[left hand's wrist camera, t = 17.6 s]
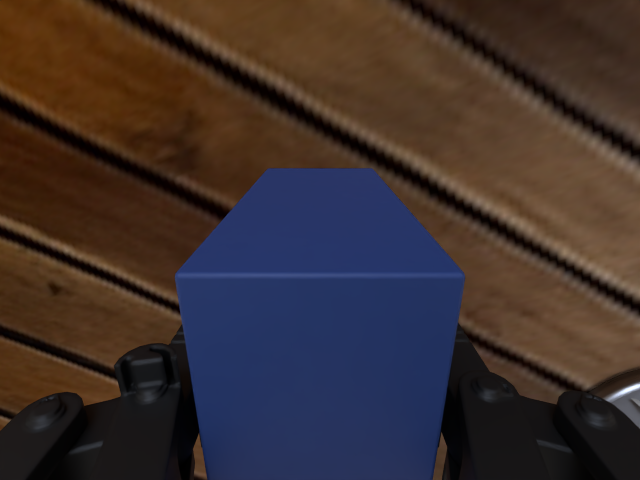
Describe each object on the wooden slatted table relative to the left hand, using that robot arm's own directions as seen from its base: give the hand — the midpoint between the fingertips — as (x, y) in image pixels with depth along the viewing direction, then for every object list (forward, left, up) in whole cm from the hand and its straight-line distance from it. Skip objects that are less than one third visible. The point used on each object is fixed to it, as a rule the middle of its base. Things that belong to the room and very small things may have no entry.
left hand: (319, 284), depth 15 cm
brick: (0, 0, -3) cm, 3 cm away
